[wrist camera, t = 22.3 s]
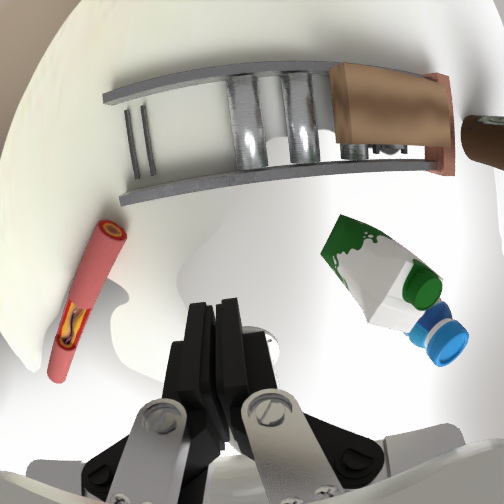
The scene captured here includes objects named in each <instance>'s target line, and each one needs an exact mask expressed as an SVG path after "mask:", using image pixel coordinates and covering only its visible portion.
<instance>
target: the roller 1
mask: <svg viewBox="0 0 504 504" xmlns="http://www.w3.org/2000/svg"><path fill="white" fill-rule="evenodd" d="M226 86H227V93H228V101H229V109H230V116H231V124H232V132H233V139H234V147H235V154H236V162H237V169H238V170H247V169H256V168H262V167H266V166H268V159H267V151H266V141H265V133H264V125H263V116H262V109H261V101H260V93H259V86H258V78H257V76H254V75H242V76H235V77H231V78H229V79H227V80H226Z"/></svg>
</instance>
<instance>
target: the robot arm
mask: <svg viewBox="0 0 504 504" xmlns="http://www.w3.org/2000/svg"><path fill="white" fill-rule="evenodd" d="M278 356H279V346H278V343H277V340H276V339H275V337H274V336H273V335H272V334H271V333H270V332H268V331H266V330H263V329H261V328H257V327H249V326H247V327H246V326H245V327H242V324H241V318H240V313H239V306H238V301H237V298H230V299H223V300H222V304H217V305H216V320H215V316H214V311H213V307H212V305H209V306H207V305H206V302H201V303H192V304H190V305H189V311H188V317H187V323H186V329H185V336H184V341H174V342H173V343H172V345H171V350H170V355H169V360H168V365H167V371H166V376H165V382H164V388H163V394H162V399H157V400H153V401H151V402H149V403H147V404H145V406H144V407H142V408H141V409H140V411H139V413H138V414H137V417H136V419H135V422H134V425H133V427H132V430H131V432H130V434H129V435H128V436H126V437H125V438H123V439H122V440H120V441H119V442H117V443H116V444H114V445H113V446H111V447H110V448H108V449H106V450H105V451H103V452H102V453H100V454H99V455H97V456H96V457H94V458H92V459H91V460H90V461H88V462H87V463H83V462H82V461H56V460H35V461H33V462H31V463H30V464H29V466H28V467H27V471H26V477H25V476H23V475H19V474H16V473H12V472H7V471H0V504H504V439H487V440H482V441H477V442H473V443H470V444H467V445H466V444H465V441H464V438H463V435H462V433H461V431H460V429H459V428H457V427H456V426H454V425H452V424H448V423H446V424H440V425H436V426H432V427H428V428H425V429H420V430H416V431H412V432H407V433H402V434H397V435H392V436H386V437H385V438H384V439H383V440H378V441H373V440H371V439H369V438H366V437H363V436H360V435H357V434H355V433H352V432H349V431H347V430H344V429H341V428H339V427H336V426H334V425H331V424H329V423H326V422H324V421H322V420H319V419H317V418H315V417H312V416H310V415H308V414H305V413H303V412H302V410H301V408H300V406H299V404H298V402H297V401H296V399H295V398H294V397H293V396H292V395H291V394H289V393H288V392H286V391H283V390H280V387H279V383H278V378H277V374H276V370H275V366H274V363H275V362H276V360H277V359H278ZM224 442H229V443H230V444H231V445H232V446H233V447H234V448H235V449H236V450H237V451H238V452H240V453H241V455H236V456H231V457H218V456H219V455H220V450H225V444H224Z"/></svg>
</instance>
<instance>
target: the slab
mask: <svg viewBox="0 0 504 504" xmlns="http://www.w3.org/2000/svg"><path fill="white" fill-rule="evenodd" d="M328 72H329V79H330V87H331V95H332V103H333V113H334V123H335V135H336V143H341V144H392V145H419V146H433V147H446V148H451V138H450V119H449V107H448V97H447V89H446V85H444V84H441V83H437V82H434V81H431V80H427V79H424V78H420V77H417V76H413V75H409V74H405V73H401V72H396V71H392V70H387V69H382V68H377V67H371V66H365V65H359V64H352V63H341V64H339V65H337V66H334V67H332V68H330V69H328Z"/></svg>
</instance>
